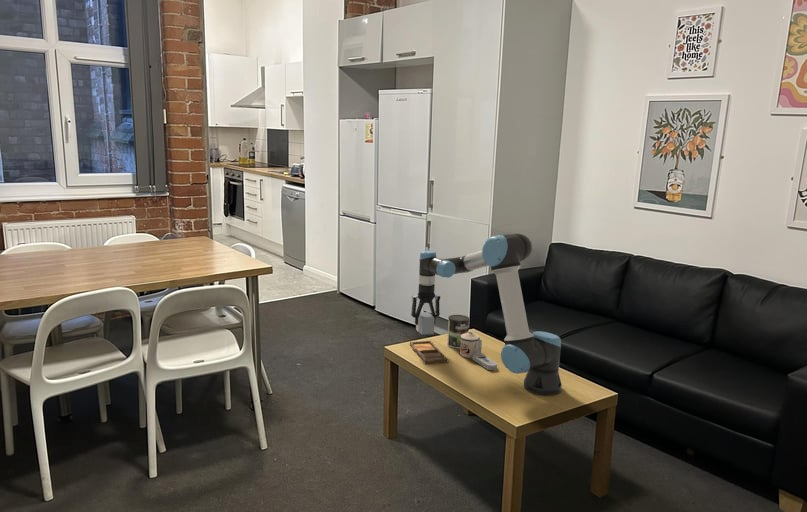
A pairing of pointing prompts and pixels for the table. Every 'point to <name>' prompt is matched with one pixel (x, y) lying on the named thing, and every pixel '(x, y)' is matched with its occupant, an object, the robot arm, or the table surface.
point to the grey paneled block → (426, 323)
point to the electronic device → (483, 358)
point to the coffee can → (457, 329)
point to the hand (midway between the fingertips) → (424, 330)
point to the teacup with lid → (468, 344)
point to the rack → (428, 352)
